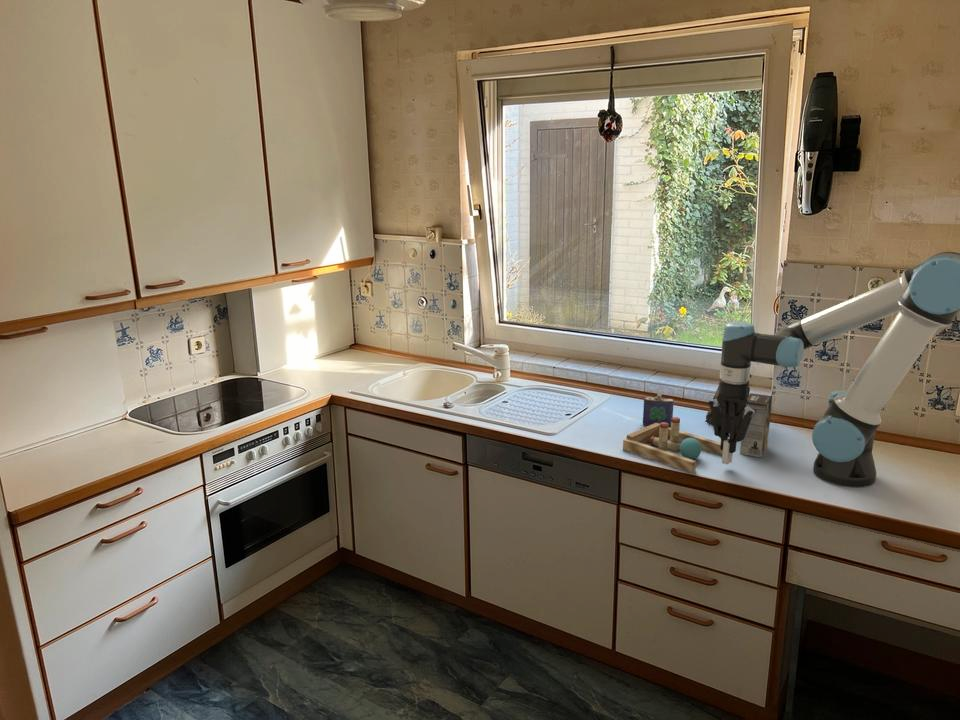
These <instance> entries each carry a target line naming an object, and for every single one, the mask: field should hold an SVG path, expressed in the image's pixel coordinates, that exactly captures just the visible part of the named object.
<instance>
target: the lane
mask: <svg viewBox="0 0 960 720" xmlns="http://www.w3.org/2000/svg"><path fill="white" fill-rule="evenodd" d="M659 431H660V424H659V423H654V424H651V425H649V426H644V427H643V428H640V429H637V430H635V431H633V432H630V433H628V434H627V435H626V438H624V439H623V440H622V441H623V442H622V450H624V451H626V450H627V451H626V452H629V451H630V453H632V454H635V453H636V455H638V456H642V457H644V458H647V459H651V460H654V461H657V462H659V463H662V464H665V465H667V464H668V466H670V465H671V466H670V467H673V466H674V468H677V469H679V468H680V469H681V470H682V471H685V472H689V473H691V474H692V473H695V472H696V468H697V460H695V459H688V458H685V457H682V456H679V455H676V454H673V453H670V452H667V451H664V450H661V449H658V447H654V446H653V445H652V446H651V445H648V444H647V443H650V439H651V437H652V436H653V437H656V438H659ZM670 435H671V427H668V440H670ZM687 438H694V439H696V440H697V441H698V442H699V443H700V444H701V448H702V451H706V452H710V453H713V454H716V455H719V456H722V455H723V451H722V450H721V449H720V446H721V441H720V442H719V441H715V440H712V439H710V438H706V437H703V436H699V435H695V434H693V433H689V432H686V431H683V430H680V429H679V442H678V443H680V442H682V441H683V440H685V439H687ZM680 469H679V470H680Z"/></svg>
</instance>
